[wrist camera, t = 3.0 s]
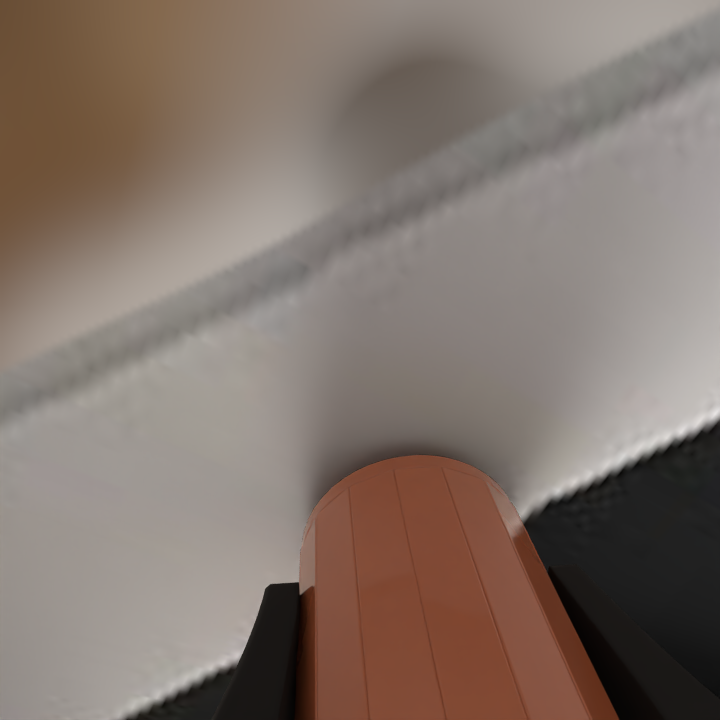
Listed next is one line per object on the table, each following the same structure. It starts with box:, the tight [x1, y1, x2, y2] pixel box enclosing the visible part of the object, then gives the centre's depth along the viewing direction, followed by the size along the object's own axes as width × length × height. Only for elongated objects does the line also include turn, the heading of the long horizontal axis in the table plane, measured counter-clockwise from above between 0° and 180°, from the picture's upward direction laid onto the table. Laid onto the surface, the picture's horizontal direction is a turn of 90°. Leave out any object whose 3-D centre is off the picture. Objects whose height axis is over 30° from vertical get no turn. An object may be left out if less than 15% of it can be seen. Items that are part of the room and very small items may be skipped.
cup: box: [294, 455, 620, 720], centre depth 11 cm, size 5×5×6 cm
